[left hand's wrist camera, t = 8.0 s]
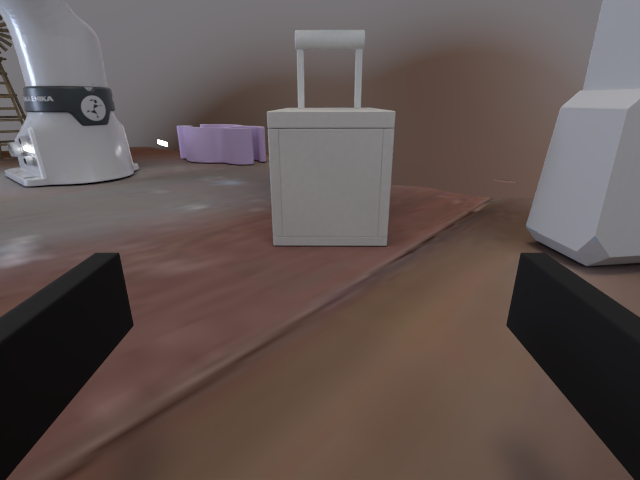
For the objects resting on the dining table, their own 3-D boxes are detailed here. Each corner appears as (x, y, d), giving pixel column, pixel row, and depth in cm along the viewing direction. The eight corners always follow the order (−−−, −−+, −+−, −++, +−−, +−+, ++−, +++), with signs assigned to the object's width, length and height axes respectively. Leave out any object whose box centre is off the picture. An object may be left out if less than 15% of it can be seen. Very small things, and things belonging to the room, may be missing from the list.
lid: (288, 118, 47) (285, 34, 43) (370, 118, 46) (373, 34, 43) (267, 128, 30) (261, -7, 27) (394, 127, 30) (402, -8, 27)
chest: (290, 199, 50) (287, 119, 46) (367, 199, 50) (370, 119, 46) (273, 245, 34) (267, 128, 30) (386, 246, 34) (394, 128, 30)
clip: (277, 158, 83) (276, 126, 81) (238, 166, 73) (235, 129, 71) (213, 152, 93) (210, 123, 90) (171, 159, 83) (166, 126, 81)
